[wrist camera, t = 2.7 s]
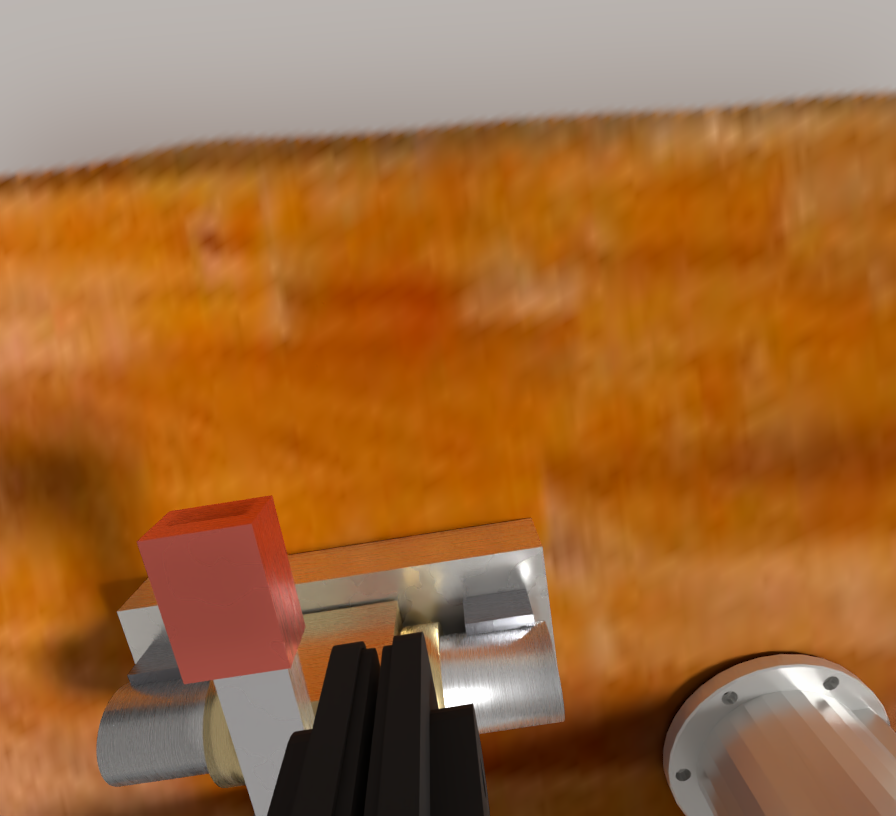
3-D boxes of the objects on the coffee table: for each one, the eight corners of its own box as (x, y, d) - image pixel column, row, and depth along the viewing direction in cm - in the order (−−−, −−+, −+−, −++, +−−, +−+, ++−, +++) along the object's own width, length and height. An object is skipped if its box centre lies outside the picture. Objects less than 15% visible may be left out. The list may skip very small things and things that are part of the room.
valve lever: (362, 851, 19) (355, 909, 17) (278, 863, 19) (262, 922, 17) (272, 495, 16) (251, 523, 14) (169, 511, 16) (136, 541, 14)
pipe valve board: (531, 517, 28) (588, 666, 18) (550, 665, 30) (610, 874, 20) (149, 576, 28) (-17, 755, 18) (196, 717, 31) (72, 950, 20)
